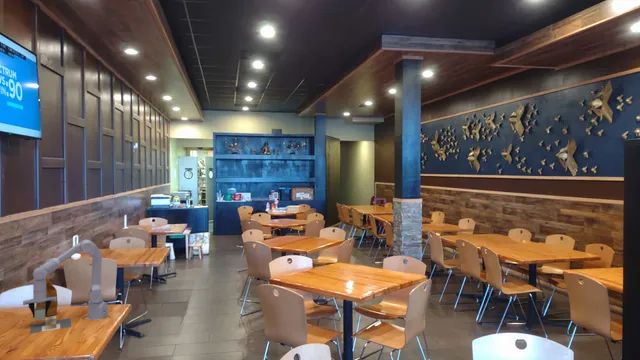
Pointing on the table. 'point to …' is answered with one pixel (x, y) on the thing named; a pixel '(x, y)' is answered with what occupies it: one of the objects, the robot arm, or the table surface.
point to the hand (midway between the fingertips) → (40, 316)
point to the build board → (42, 327)
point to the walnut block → (50, 322)
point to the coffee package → (49, 293)
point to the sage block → (39, 313)
